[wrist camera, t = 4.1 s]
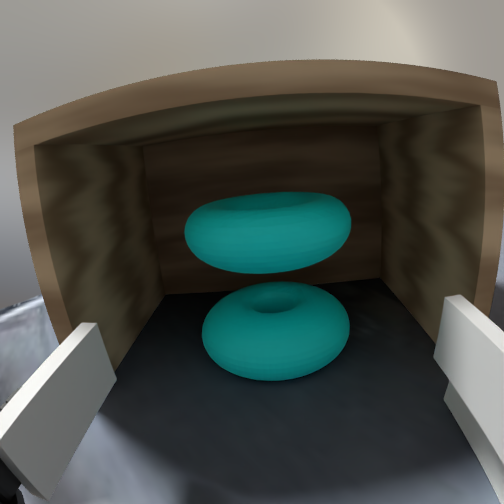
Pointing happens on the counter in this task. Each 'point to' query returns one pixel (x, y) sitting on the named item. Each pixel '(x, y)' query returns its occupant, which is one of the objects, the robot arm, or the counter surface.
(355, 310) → the counter surface
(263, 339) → the donuts
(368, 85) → the tunnel
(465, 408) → the platter
